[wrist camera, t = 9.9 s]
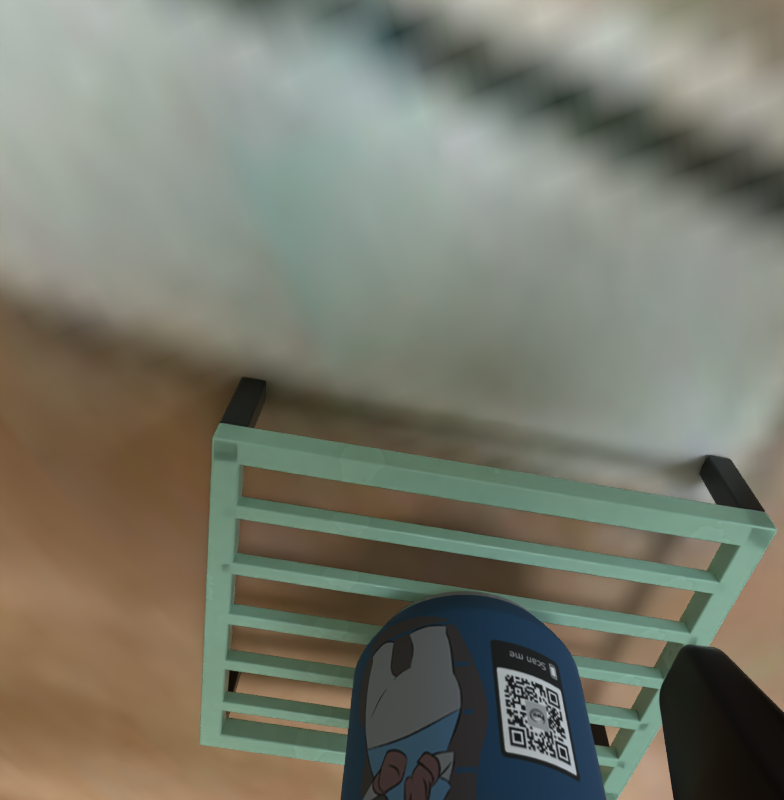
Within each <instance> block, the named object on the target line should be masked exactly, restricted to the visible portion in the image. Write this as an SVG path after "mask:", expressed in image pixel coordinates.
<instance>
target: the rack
mask: <svg viewBox="0 0 784 800" xmlns="http://www.w3.org/2000/svg"><path fill="white" fill-rule="evenodd" d="M265 394H266V381H262V380H256V379H250V378H244V377H243V378H241V380H240V382H239V384H238V387H237V389H236V391H235V393H234V395H233V397H232V399H231V401H230V403H229V405H228V407H227V409H226V411H225V413H224V415H223V417H222V419H221V421H220V424H219V425H218V427H217V429H216V431H215V433H214V435H213V437H212V456H211V458H212V459H211V483H210V506H209V529H208V553H207V576H206V599H205V623H204V646H203V669H202V693H201V716H200V739H199V743H200V745H205V746H212V747H220V748H227V749H234V750H241V751H248V752H255V753H262V754H269V755H276V756H283V757H290V758H297V759H304V760H311V761H318V762H325V763H332V764H339V765H344V764H345V755H346V745H347V736H348V735H345V734H338V733H332V732H325V731H318V730H311V729H304V728H297V727H290V726H283V725H276V724H269V723H262V722H255V721H248V720H241V719H235V718H228V717H229V714H230V712H236V713H243V714H250V715H257V716H264V717H271V718H278V719H285V720H292V721H298V722H305V723H312V724H319V725H326V726H333V727H340V728H347V729H348V727H349V717H350V709H346V708H339V707H333V706H326V705H319V704H312V703H305V702H298V701H291V700H285V699H278V698H271V697H264V696H257V695H250V694H244V693H237V692H236V688H237V685H238V681H239V677H240V674H241V672H246V673H253V674H259V675H266V676H273V677H280V678H287V679H293V680H300V681H307V682H314V683H320V684H327V685H334V686H341V687H347V688H353V680H354V673H355V669H356V668H351V667H345V666H338V665H331V664H325V663H318V662H311V661H305V660H298V659H291V658H284V657H278V656H271V655H264V654H258V653H251V652H244V651H237V650H231V641H232V628H233V625H237V626H243V627H250V628H257V629H263V630H270V631H277V632H283V633H290V634H296V635H303V636H310V637H316V638H323V639H330V640H336V641H343V642H349V643H356V644H363V645H368V644H369V642H370V641H371V640H372V639H373V637H374V636H375V635H376V634H377V633H378V632H379V631H380V630H381V629H382V628H383V627H384V626H378V625H371V624H365V623H358V622H351V621H345V620H338V619H332V618H325V617H319V616H312V615H306V614H299V613H292V612H286V611H279V610H273V609H266V608H260V607H253V606H246V605H240V604H234V600H235V587H236V575H240V576H247V577H253V578H260V579H266V580H273V581H279V582H286V583H292V584H299V585H305V586H312V587H318V588H325V589H331V590H338V591H344V592H351V593H357V594H363V595H370V596H376V597H383V598H389V599H396V600H402V601H409V602H415V601H417V600H420V599H422V598H425V597H428V596H431V595H435V594H440V593H445V592H454V591H474V592H483V593H488V594H493V595H497V596H500V597H503V598H506V599H508V600H511V601H513V602H515V603H517V604H519V605H520V606H522V607H524V608H525V609H526V610H528V611H529V612H530V613H531V614H533V615H534V616H535V617H536V618H537V619H538V620H540V621H541V622H545V623H551V624H558V625H564V626H571V627H577V628H584V629H590V630H597V631H603V632H610V633H616V634H623V635H629V636H636V637H642V638H649V639H655V640H662V641H668V642H667V644H666V646H665V648H664V649H663V651H662V653H661V655H660V657H659V659H658V660H657V662H656V664H655V666H654V667H647V666H640V665H634V664H627V663H621V662H614V661H608V660H601V659H595V658H588V657H581V656H575V655H572V657H573V659H574V661H575V663H576V666H577V669H578V673H579V677H582V678H588V679H595V680H601V681H608V682H615V683H621V684H628V685H635V686H641V687H643V688H642V690H641V691H640V693H639V695H638V697H637V699H636V700H635V702H634V704H633V706H632V708H631V709H627V708H620V707H613V706H606V705H600V704H593V703H586V702H585V704H586V708H587V713H588V717H589V722H590V726H591V731H592V735H593V740H594V744H595V749H596V753H597V758H598V762H599V767H600V771H601V776H602V780H603V785H604V789H605V794H606V798H607V800H617V799H618V797H619V796H620V794H621V792H622V791H623V789H624V787H625V785H626V784H627V782H628V780H629V779H630V777H631V775H632V774H633V772H634V770H635V769H636V767H637V765H638V764H639V762H640V760H641V759H642V757H643V755H644V754H645V752H646V750H647V749H648V747H649V745H650V744H651V742H652V740H653V739H654V737H655V735H656V733H657V732H658V730H659V728H660V727H661V725H662V719H661V713H660V705H659V694H660V689H661V685H662V683H663V681H664V679H665V677H666V675H667V673H668V671H669V669H670V668H671V666H672V664H673V662H674V660H675V658H676V656H677V654H678V652H679V651H680V649H681V648H682V647H683V646H685V645H687V644H693V645H701V646H709V645H710V643H711V641H712V640H713V638H714V636H715V634H716V633H717V631H718V629H719V628H720V626H721V624H722V623H723V621H724V619H725V618H726V616H727V614H728V613H729V611H730V609H731V608H732V606H733V604H734V603H735V601H736V599H737V598H738V596H739V594H740V593H741V591H742V589H743V587H744V586H745V584H746V582H747V581H748V579H749V577H750V576H751V574H752V572H753V571H754V569H755V567H756V566H757V564H758V562H759V561H760V559H761V557H762V556H763V554H764V552H765V551H766V549H767V547H768V546H769V544H770V542H771V541H772V539H773V537H774V535H775V534H776V532H777V528H776V527H775V525H774V524H773V522H772V521H771V519H770V518H769V516H768V515H767V513H765V510H764V509H763V507H762V506H761V504H760V503H759V501H758V500H757V498H756V497H755V495H754V494H753V492H752V491H751V489H750V488H749V486H748V485H747V483H746V482H745V480H744V479H743V477H742V476H741V474H740V473H739V471H738V470H737V468H736V467H735V465H734V464H733V462H732V461H731V460H730V459H727V458H721V457H715V456H708V457H707V459H706V461H705V463H704V465H703V467H702V469H701V471H700V473H699V475H700V477H701V478H702V480H703V482H704V484H705V485H706V487H707V489H708V491H709V492H710V494H711V496H712V498H713V499H714V501H715V503H716V504H711V503H705V502H699V501H693V500H687V499H681V498H674V497H668V496H662V495H656V494H650V493H644V492H638V491H632V490H626V489H620V488H614V487H608V486H602V485H595V484H589V483H583V482H577V481H571V480H565V479H559V478H553V477H547V476H541V475H535V474H529V473H523V472H516V471H510V470H504V469H498V468H492V467H486V466H480V465H474V464H468V463H462V462H456V461H450V460H443V459H437V458H431V457H425V456H419V455H413V454H407V453H401V452H395V451H389V450H383V449H377V448H371V447H364V446H358V445H352V444H346V443H340V442H334V441H328V440H322V439H316V438H310V437H304V436H298V435H292V434H285V433H279V432H273V431H267V430H261V429H255V428H254V427H255V425H256V422H257V420H258V417H259V415H260V412H261V410H262V407H263V405H264V402H265ZM244 466H250V467H256V468H262V469H268V470H274V471H281V472H287V473H293V474H299V475H305V476H312V477H318V478H324V479H330V480H336V481H342V482H349V483H355V484H361V485H367V486H373V487H380V488H386V489H392V490H398V491H404V492H410V493H417V494H423V495H429V496H435V497H441V498H447V499H454V500H460V501H466V502H472V503H478V504H485V505H491V506H497V507H503V508H509V509H515V510H522V511H528V512H534V513H540V514H546V515H552V516H559V517H565V518H571V519H577V520H583V521H590V522H596V523H602V524H608V525H614V526H620V527H627V528H633V529H639V530H645V531H651V532H658V533H664V534H670V535H676V536H682V537H688V538H695V539H701V540H707V541H713V542H719V543H722V544H721V546H720V547H719V549H718V551H717V553H716V555H715V556H714V558H713V560H712V562H711V564H710V566H709V567H708V569H707V571H706V570H699V569H693V568H687V567H681V566H674V565H668V564H662V563H656V562H649V561H643V560H637V559H631V558H624V557H618V556H612V555H605V554H599V553H593V552H587V551H580V550H574V549H568V548H562V547H555V546H549V545H543V544H537V543H530V542H524V541H518V540H512V539H505V538H499V537H493V536H487V535H480V534H474V533H468V532H461V531H455V530H449V529H443V528H436V527H430V526H424V525H418V524H411V523H405V522H399V521H393V520H386V519H380V518H374V517H368V516H361V515H355V514H349V513H343V512H336V511H330V510H324V509H317V508H311V507H305V506H299V505H292V504H286V503H280V502H274V501H267V500H261V499H255V498H249V497H242V491H243V477H244ZM240 519H242V520H248V521H255V522H261V523H267V524H274V525H280V526H286V527H293V528H299V529H305V530H312V531H318V532H324V533H331V534H337V535H343V536H350V537H356V538H362V539H369V540H375V541H381V542H388V543H394V544H400V545H407V546H413V547H419V548H426V549H432V550H438V551H444V552H451V553H457V554H463V555H470V556H476V557H482V558H489V559H495V560H501V561H508V562H514V563H520V564H527V565H533V566H539V567H546V568H552V569H558V570H565V571H571V572H577V573H584V574H590V575H596V576H603V577H609V578H615V579H622V580H628V581H634V582H641V583H647V584H653V585H659V586H666V587H672V588H678V589H685V590H691V591H695V593H694V595H693V597H692V598H691V600H690V602H689V604H688V606H687V608H686V609H685V611H684V613H683V615H682V617H681V618H680V620H679V622H678V621H672V620H665V619H659V618H653V617H646V616H640V615H633V614H627V613H621V612H614V611H608V610H601V609H595V608H588V607H582V606H576V605H569V604H563V603H556V602H550V601H544V600H537V599H531V598H524V597H518V596H511V595H505V594H499V593H492V592H486V591H479V590H473V589H466V588H460V587H454V586H447V585H441V584H434V583H428V582H422V581H415V580H409V579H402V578H396V577H389V576H383V575H377V574H370V573H364V572H357V571H351V570H345V569H338V568H332V567H325V566H319V565H312V564H306V563H300V562H293V561H287V560H280V559H274V558H267V557H261V556H255V555H248V554H242V553H238V546H239V532H240ZM604 725H605V726H612V727H618V728H620V730H619V731H618V733H617V735H616V737H615V739H614V741H613V742H612V744H611V746H609V742H608V738H607V734H606V730H605V726H604Z"/></svg>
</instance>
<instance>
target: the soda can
mask: <svg viewBox="0 0 784 800" xmlns="http://www.w3.org/2000/svg"><path fill="white" fill-rule="evenodd" d="M341 800H607V798H606V794H605V789H604V785H603V780H602V776H601V771H600V767H599V762H598V758H597V753H596V749H595V744H594V740H593V735H592V731H591V726H590V722H589V717H588V713H587V708H586V704H585V699H584V695H583V690H582V686H581V681H580V677H579V673H578V669H577V666H576V663H575V661H574V659H573V657H572V655H571V654H570V652H569V651H568V649H567V648H566V646H565V645H564V644H563V643H562V641H561V640H560V639H559V638H558V637H557V636H556V635H555V634H554V633H553V632H552V631H551V630H550V629H549V628H548V627H546V626H545V625H544V624H543V623H542V622H541V621H540V620H538V619H537V618H536V617H535V616H534V615H533V614H531V613H530V612H529V611H528V610H526V609H525V608H524V607H522V606H520V605H519V604H517V603H515V602H513V601H511V600H508V599H506V598H503V597H500V596H497V595H493V594H488V593H483V592H474V591H454V592H445V593H440V594H435V595H431V596H428V597H425V598H422V599H420V600H417V601H415V602H413V603H411V604H409V605H408V606H406V607H405V608H403V609H402V610H400V611H399V612H398V613H397V614H396V615H394V616H393V617H392V618H391V619H390V620H389V621H388V622H387V624H386V625H385V626H384V627H383V628H382V629H381V630H380V631H379V632H378V633H377V634H376V635H375V636H374V637H373V639H372V640H371V641H370V642H369V644H368V645H367V646H366V648H365V649H364V651H363V653H362V654H361V656H360V658H359V660H358V663H357V666H356V669H355V673H354V680H353V689H352V698H351V708H350V717H349V727H348V736H347V745H346V755H345V764H344V774H343V783H342V792H341Z"/></svg>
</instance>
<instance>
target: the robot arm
mask: <svg viewBox="0 0 784 800" xmlns="http://www.w3.org/2000/svg"><path fill="white" fill-rule="evenodd" d="M659 705H660V713H661V719H662V726H663V732H664V739H665V745H666V752H667V758H668V765H669V772H670V778H671V785H672V791H673V798H674V800H784V712H783V711H782V710H781V709H780V708H779V707H778V706H777V705H776V704H775V703H774V702H773V701H772V700H771V699H770V698H769V697H768V696H767V695H766V694H765V693H764V692H763V691H762V690H761V689H760V688H759V687H758V686H757V685H756V684H755V683H754V682H753V681H752V680H751V679H750V678H749V677H748V676H747V675H746V674H745V673H744V672H743V671H742V670H741V669H740V668H739V667H738V666H737V665H736V664H735V663H734V662H733V661H732V660H731V659H730V658H729V657H728V656H727V655H726V654H725V653H724V652H723V651H721V650H720V649H717V648H715V647H708V646H701V645H693V644H687V645H685V646H683V647H682V648H681V649H680V651H679V652H678V654H677V656H676V658H675V660H674V662H673V664H672V666H671V668H670V669H669V671H668V673H667V675H666V677H665V679H664V681H663V683H662V685H661V689H660V694H659Z"/></svg>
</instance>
